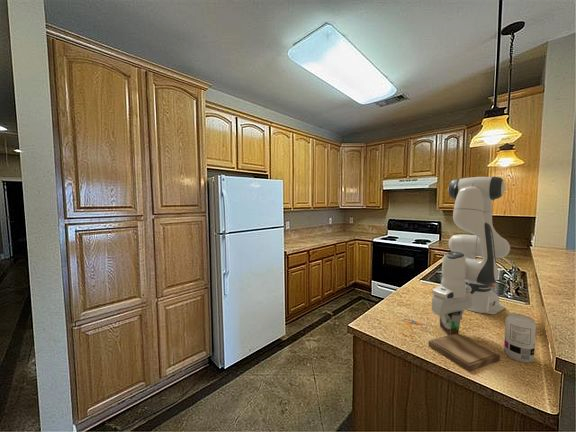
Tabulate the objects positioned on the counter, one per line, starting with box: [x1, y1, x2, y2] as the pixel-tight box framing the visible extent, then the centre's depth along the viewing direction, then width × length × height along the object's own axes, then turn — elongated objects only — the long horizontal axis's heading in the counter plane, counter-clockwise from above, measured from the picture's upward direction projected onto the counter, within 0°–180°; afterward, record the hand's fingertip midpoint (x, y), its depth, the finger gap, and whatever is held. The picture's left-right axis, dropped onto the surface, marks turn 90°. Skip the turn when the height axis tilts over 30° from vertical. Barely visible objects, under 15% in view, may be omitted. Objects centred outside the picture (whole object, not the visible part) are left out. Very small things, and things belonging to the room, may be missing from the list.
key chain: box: [402, 318, 430, 333], centre depth 116 cm, size 13×7×1 cm, turn 46°
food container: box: [439, 311, 463, 336], centre depth 109 cm, size 12×6×10 cm, turn 172°
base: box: [428, 333, 501, 372], centre depth 95 cm, size 16×16×2 cm
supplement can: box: [503, 312, 537, 364], centre depth 92 cm, size 8×8×15 cm
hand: (451, 320), depth 108 cm, fingers open, 6 cm apart
